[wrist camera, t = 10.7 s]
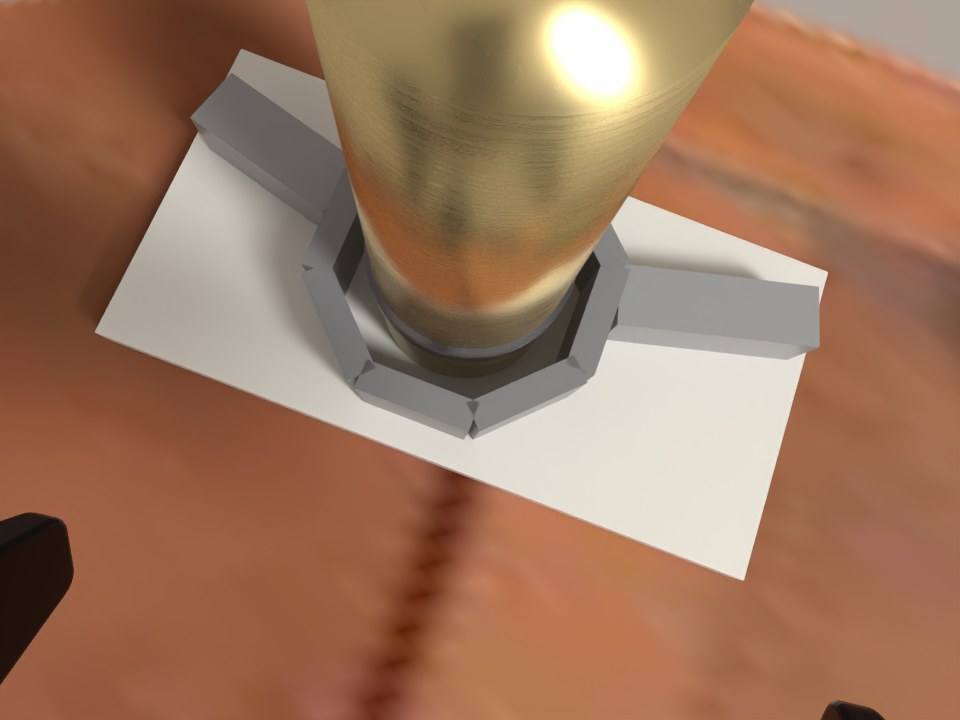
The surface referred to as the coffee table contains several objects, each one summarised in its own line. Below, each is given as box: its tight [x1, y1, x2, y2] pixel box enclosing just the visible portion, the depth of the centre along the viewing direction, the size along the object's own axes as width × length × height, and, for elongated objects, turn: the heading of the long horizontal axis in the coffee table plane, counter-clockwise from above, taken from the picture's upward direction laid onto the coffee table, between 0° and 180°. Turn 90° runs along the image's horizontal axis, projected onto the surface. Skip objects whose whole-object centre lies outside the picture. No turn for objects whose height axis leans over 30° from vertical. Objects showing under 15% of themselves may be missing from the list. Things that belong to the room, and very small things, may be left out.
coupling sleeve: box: [305, 0, 753, 378], centre depth 14 cm, size 5×5×14 cm
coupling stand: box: [95, 49, 828, 581], centre depth 20 cm, size 10×20×4 cm, turn 69°
